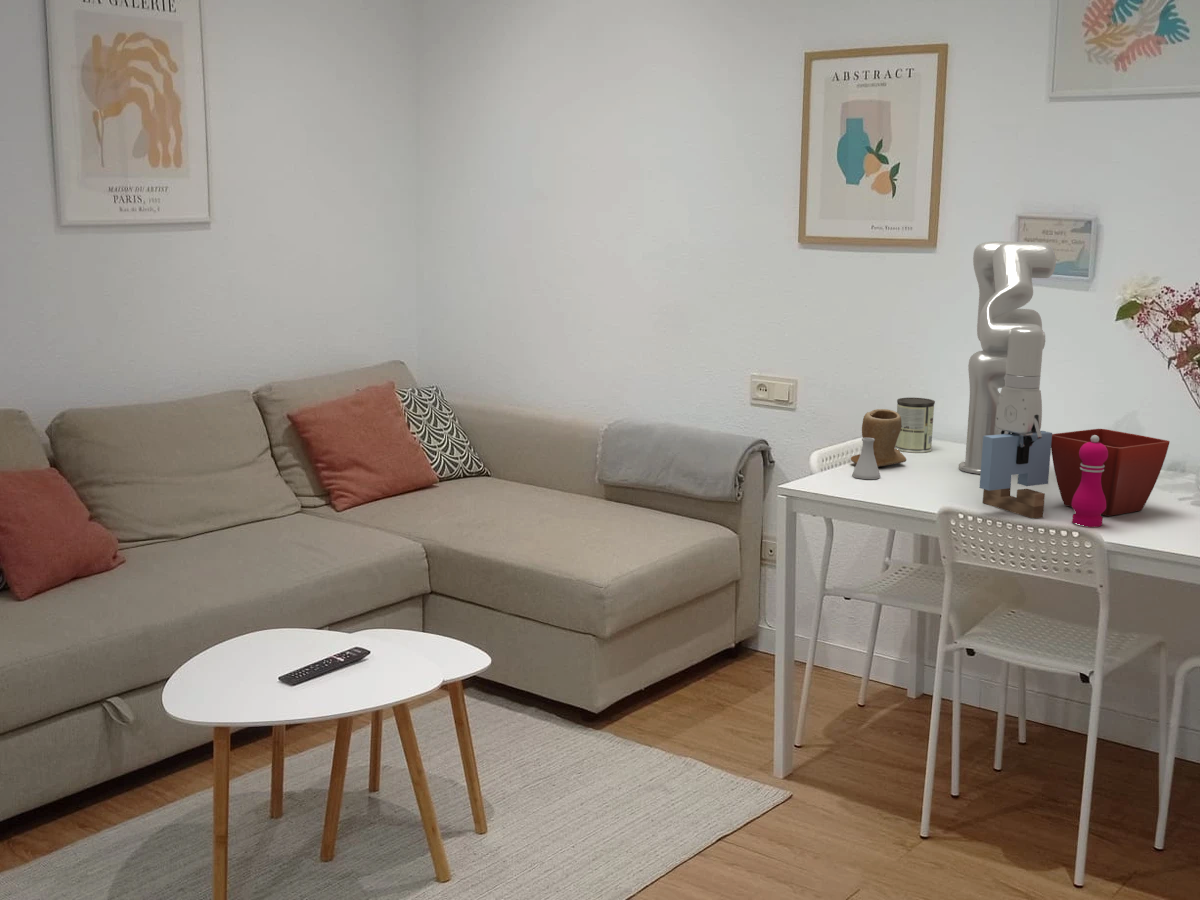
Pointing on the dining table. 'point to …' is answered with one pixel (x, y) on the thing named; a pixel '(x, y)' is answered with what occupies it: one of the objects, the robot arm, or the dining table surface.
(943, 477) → the dining table surface
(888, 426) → the stone cup
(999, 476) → the blue notched block
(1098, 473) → the pepper mill
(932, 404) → the coffee can
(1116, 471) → the plant pot
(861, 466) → the flask
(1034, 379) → the robot arm
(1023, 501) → the walnut u-shaped block
